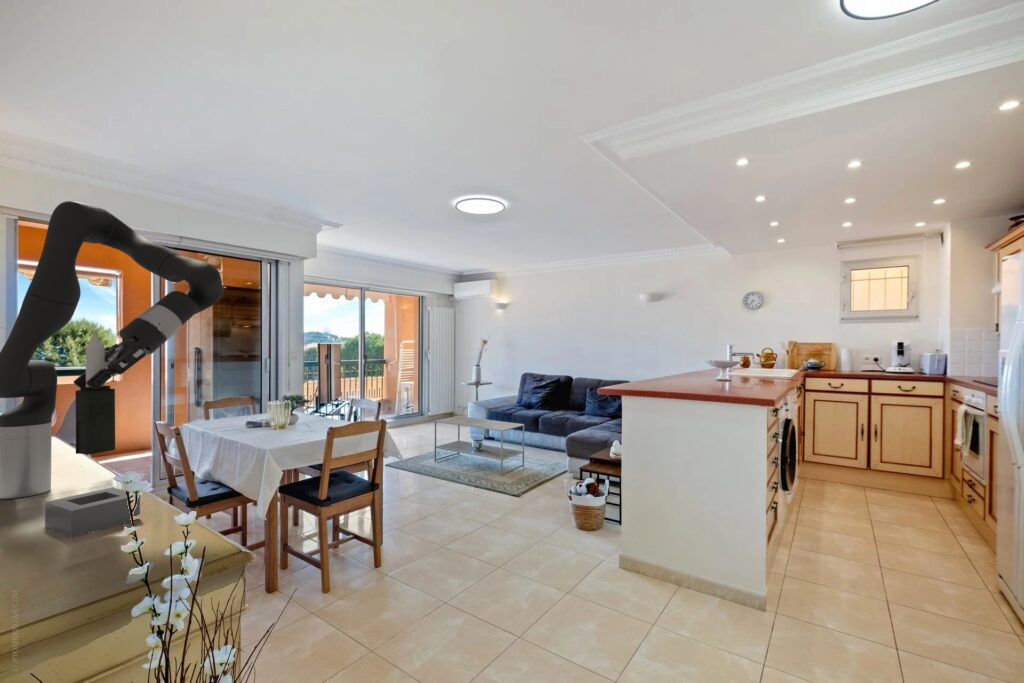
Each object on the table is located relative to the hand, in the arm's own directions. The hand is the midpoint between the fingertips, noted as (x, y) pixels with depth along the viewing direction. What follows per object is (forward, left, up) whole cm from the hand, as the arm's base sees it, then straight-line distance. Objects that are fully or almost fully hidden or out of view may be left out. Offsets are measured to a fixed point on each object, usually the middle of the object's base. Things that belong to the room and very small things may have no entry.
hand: (84, 385), depth 94 cm
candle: (0, +2, -14) cm, 14 cm away
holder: (0, +2, -28) cm, 28 cm away
